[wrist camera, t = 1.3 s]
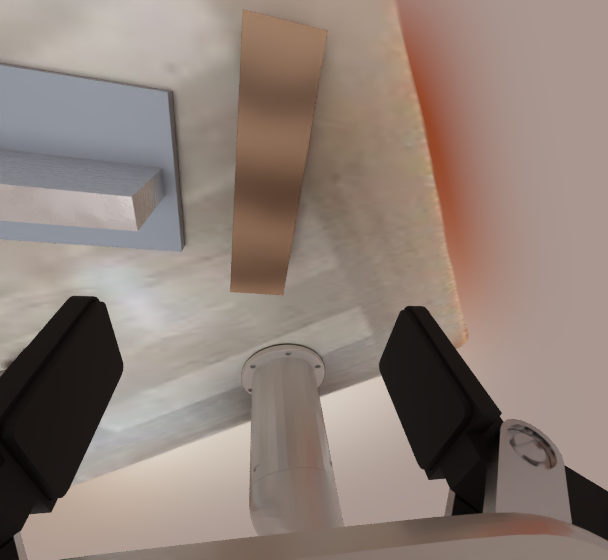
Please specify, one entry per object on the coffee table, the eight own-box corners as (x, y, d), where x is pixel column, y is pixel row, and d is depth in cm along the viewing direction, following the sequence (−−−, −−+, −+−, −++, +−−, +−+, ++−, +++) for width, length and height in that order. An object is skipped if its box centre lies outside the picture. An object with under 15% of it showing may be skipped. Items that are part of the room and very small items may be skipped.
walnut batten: (279, 258, 34) (283, 295, 29) (235, 254, 33) (230, 291, 28) (310, 41, 23) (327, 30, 18) (246, 26, 22) (242, 9, 17)
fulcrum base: (184, 244, 32) (181, 251, 30) (-15, 230, 28) (-27, 237, 27) (172, 91, 24) (167, 92, 23) (-104, 46, 20) (-127, 44, 19)
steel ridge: (165, 195, 27) (137, 231, 21) (-45, 174, 24) (-149, 208, 18) (162, 167, 26) (131, 196, 20) (-61, 141, 23) (-180, 166, 16)
